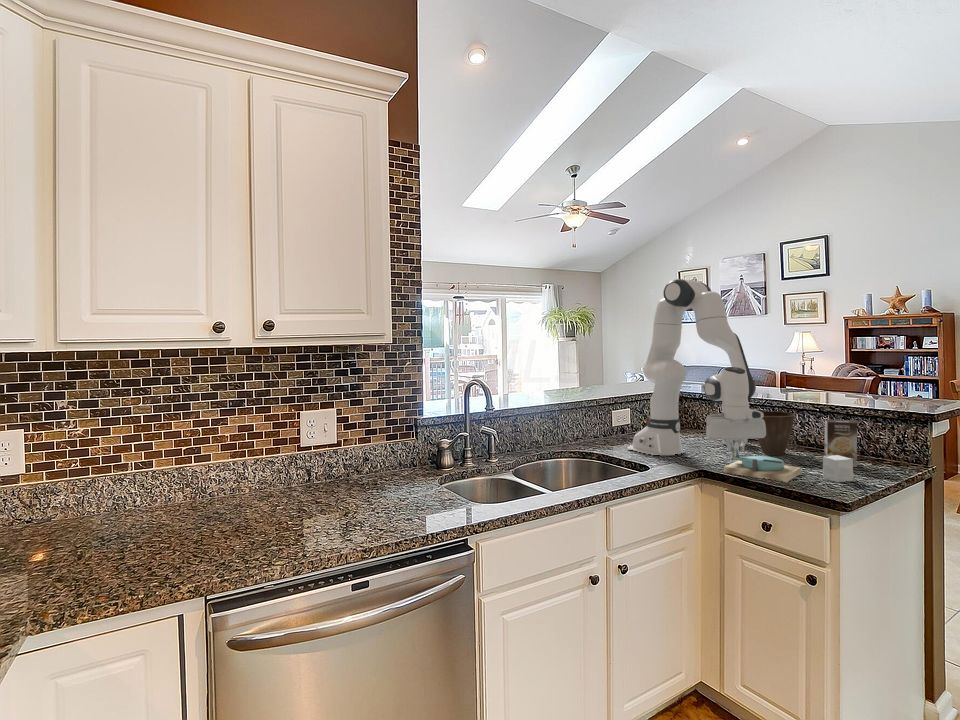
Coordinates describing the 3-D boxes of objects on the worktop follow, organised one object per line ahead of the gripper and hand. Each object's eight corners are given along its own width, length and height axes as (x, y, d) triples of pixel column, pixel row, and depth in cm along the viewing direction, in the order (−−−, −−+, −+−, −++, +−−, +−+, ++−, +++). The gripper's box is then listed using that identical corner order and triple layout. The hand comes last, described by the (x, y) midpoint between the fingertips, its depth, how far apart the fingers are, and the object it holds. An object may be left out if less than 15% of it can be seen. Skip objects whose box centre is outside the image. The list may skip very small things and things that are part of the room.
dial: (725, 465, 191) (724, 442, 190) (739, 458, 200) (739, 436, 199) (776, 472, 179) (776, 449, 178) (789, 465, 188) (789, 442, 187)
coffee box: (826, 466, 193) (826, 421, 193) (823, 462, 199) (823, 418, 198) (857, 468, 190) (857, 422, 189) (853, 463, 195) (853, 419, 194)
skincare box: (853, 481, 174) (853, 458, 174) (837, 482, 174) (836, 460, 173) (838, 476, 180) (838, 454, 180) (822, 477, 180) (822, 455, 179)
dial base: (724, 472, 190) (724, 455, 190) (740, 464, 200) (740, 448, 200) (786, 482, 176) (786, 464, 175) (800, 473, 185) (800, 456, 185)
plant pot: (744, 452, 218) (743, 413, 217) (766, 447, 225) (766, 409, 224) (780, 459, 205) (780, 417, 204) (802, 454, 212) (802, 413, 212)
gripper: (709, 415, 191) (710, 453, 191) (768, 413, 190) (768, 452, 191) (702, 412, 197) (703, 449, 198) (759, 410, 196) (759, 448, 197)
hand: (735, 450), depth 194 cm, fingers closed on dial, 2 cm apart
